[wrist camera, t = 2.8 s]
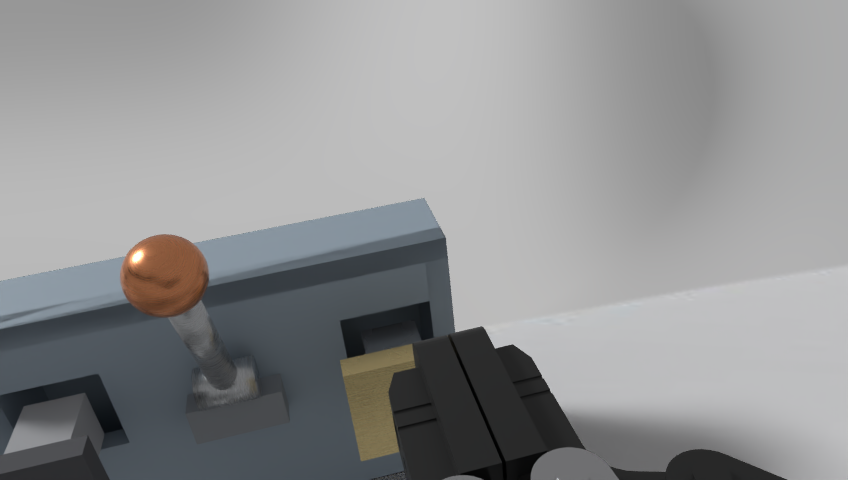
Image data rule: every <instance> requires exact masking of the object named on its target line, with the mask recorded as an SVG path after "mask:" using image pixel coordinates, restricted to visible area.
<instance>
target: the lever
mask: <svg viewBox="0 0 848 480" xmlns="http://www.w3.org/2000/svg"><path fill="white" fill-rule="evenodd" d="M208 282H209V268H208V264H207V261H206V259H205V257H204V255H203V254H202V252H201V251H200V250H199V248H198V247H197V246H195V245H194V244H193V243H191V242H190V241H188V240H186V239H184V238H182V237H179V236H175V235H166V234H163V235H156V236H152V237H149V238H146V239H144V240H142V241H141V242H139V243H138V244H137V245H135V246H134V247H133V248H132V249H131V250H130V251H129V252H128V254H127V255H126V257H125V259H124V261H123V263H122V266H121V270H120V283H121V287H122V291H123V293H124V295H125V297H126V298H127V300H128V301H129V302H130V304H131V305H132V306H133V307H135V308H136V309H137V310H139V311H140V312H142V313H144V314H147V315H149V316H153V317H159V318H168V319H169V321H170V322H171V324H172V325H173V327H174V329H175V330H176V332H177V333H178V335H179V336H180V338H181V340H182V341H183V343H184V344H185V346H186V347H187V349H188V351H189V352H190V354H191V355H192V357H193V359H194V360H195V362H196V363H197V365H198V366H199V367H196V368H193V370H192V389H193V394H194V399H195V402H196V405H197V407H198V409H199V411H200V412H203V411H207V410H211V409H215V408H220V407H224V406H228V405H233V404H237V403H241V402H246V401H250V400H254V399H259V398H261V395H262V391H261V382H260V376H259V371H258V366H257V363H256V360H255V357H254V355H250V356H245V357H241V358H236V359H232V358H231V356H230V354H229V352H228V350H227V348H226V346H225V345H224V343H223V341H222V339H221V337H220V335H219V333H218V331H217V329H216V327H215V326H214V324H213V322H212V320H211V318H210V316H209V314H208V312H207V310H206V308H205V307H204V305H203V303H202V301H201V299H202V297H203V296H204V294H205V292H206V290H207V287H208Z"/></svg>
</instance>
